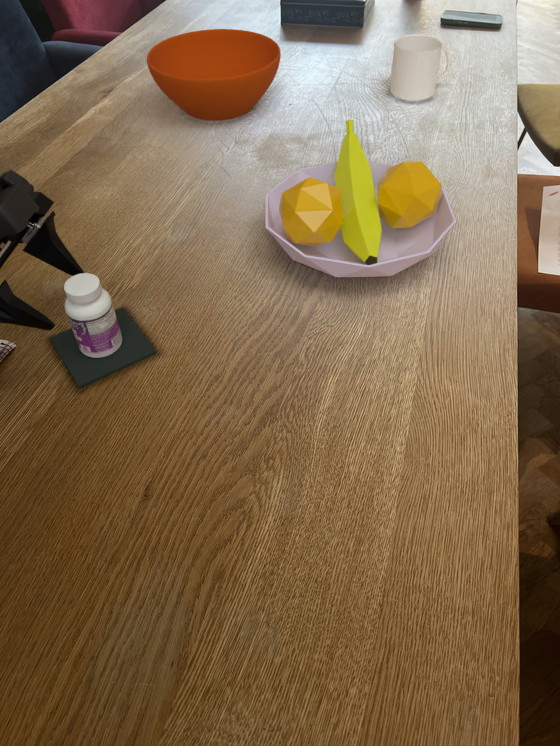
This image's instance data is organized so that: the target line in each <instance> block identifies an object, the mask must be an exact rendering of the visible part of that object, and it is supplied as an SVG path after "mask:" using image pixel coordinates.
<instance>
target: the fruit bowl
mask: <svg viewBox="0 0 560 746" xmlns="http://www.w3.org/2000/svg"><path fill="white" fill-rule="evenodd" d="M345 129H346V134H345V135H344V136H343V140H342V144H341V147H340V151H339V155H338V159H337V161H333V162H328V163H322V164H317V165H313V166H308V167H302V168H298V169H296V170H295V171H294V172H292V173H291V174H290V175H289V176H287V177H286V178H284V179H283V180H281V182H279V183H278V184H277V185H275V186H274V187H273V188H271V189H270V190H269V191H267V192H266V193H265V229H266V230H267V231H268V232H269V234H270V235H271V236H272V237H273V238H274V239H275V240H276V242H277V244H279V245H280V246H281V248H282V249H283V250H284V251H285V253H286V254H287V255H288V257H290V259H291V260H292V261H294V262H297V263H299V264H302V265H305V266H306V267H309V268H311V269H313V270H314V269H315V270H317V271H319V272H322V273H325V274H327V275H329V276H331V277H334V278H361V277H362V278H366V277H367V278H370V277H373V278H374V277H392V276H393V277H394V275H396V274H398V273H400V272H402V271H404V270H406V269H408V268H410V267H412V266H414V265H415V264H418V263H419V262H421V261H424V260H425V259H427V258H429V257H430V256H433V255H434V254H435V253H437V250H438V249H439V248H440V246H441V244H442V243H443V242H444V240H445V239H446V238H447V236H448V234H450V232H451V230H452V228H454V226H455V224H456V223H457V219H456V217H455V214H454V211H453V209H452V206H451V204H450V201H449V199H448V195H447V193H446V190H445V188H444V187H442V184H441V182H440V181H439V180H438V178H437V177H436V176H435V175H434V173H432V171H431V170H430V169H429V168H428V166H427V165H426V163H424V161H403V162H400V163H398V164H397V163H396V164H391V163H381V162H374V161H369V160H368V158H367V156H366V154H365V151H364V149H363V147H362V144H361V142H360V140H359V138H358V136H357V133H355V131H354V119H347V120H345Z"/></svg>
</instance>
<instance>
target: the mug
mask: <svg viewBox="0 0 560 746" xmlns="http://www.w3.org/2000/svg"><path fill="white" fill-rule="evenodd" d="M393 43H394V44H393V52H392V53H393V54H392V63H391V70H390V71H391V73H390V80H389V82H390V83H389V92H390V94H391V95H392V96H393V97H395V98H396V99H399V100H402V101H405V102H406V101H408V102H421V101H426V100H428V99H430V98H431V97H433V96H434V94H435V93H436V86H437V83H441V82H442V81H443V80H445V79H446V78H447V77H448V76H449V75H450V73H451V68H452V55H451V52H450V50H449V48H448V46H447V45H446V44H444V43H443V41H442V40H441V39H440V38H438V37H436V36H433V35H429V34H421V33H412V34H405V35H401V36H398V37H397V38H395V40H394V42H393ZM442 50H443V52H444V54H445V57H446V66H445V70H444V71H443V72H442V73H441V74H440V75H439V76H438V74H439V68H440V67H439V66H440V62H441V55H442Z"/></svg>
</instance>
